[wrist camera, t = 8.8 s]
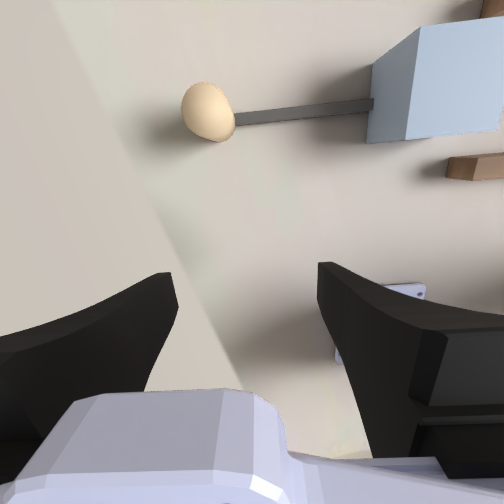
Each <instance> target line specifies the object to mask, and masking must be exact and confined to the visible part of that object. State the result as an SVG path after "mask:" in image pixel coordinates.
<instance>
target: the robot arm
mask: <svg viewBox="0 0 504 504" xmlns="http://www.w3.org/2000/svg"><path fill="white" fill-rule="evenodd" d="M419 292H420V293H419ZM425 292H426V286H425V285H423V284H422V283H415V284H401V285H387V286H381V285H379V284H377V283H374V282H372V281H370V280H368V279H366V278H363V277H361V276H359V275H357V274H355V273H353V272H351V271H350V270H348V269H346V268H344V267H342V266H340V265H338V264H336V263H333V262H319V263H318V282H317V301H318V304H319V308H320V311H321V314H322V317H323V319H324V322H325V324H326V326H327V328H328V330H329V333H330V335H331V337H332V339H333V341H334V343H335V362H336V363H337V364H340V365H341V364H344V366H345V369H346V372H347V375H348V378H349V381H350V384H351V387H352V390H353V393H354V396H355V399H356V403H357V406H358V409H359V412H360V415H361V419H362V422H363V425H364V429H365V432H366V435H367V439H368V442H369V446H370V449H371V452H372V456H373V458H371V459H338V460H337V459H330V458H324V457H319V456H314V455H309V454H303V453H298V452H293V451H287V442H286V433H285V425H284V423H283V421H282V419H281V417H280V414H279V412H278V410H277V408H276V407H275V406H273V405H272V404H270V403H269V402H267V401H265V400H264V399H262V398H260V397H259V396H257V395H256V394H254V393H252V392H247V391H240V390H234V389H227V388H223V389H198V390H174V391H153V392H152V391H151V392H144V389H145V386H146V383H147V381H148V378H149V375H150V373H151V370H152V368H153V366H154V364H155V362H156V360H157V357H158V355H159V353H160V351H161V349H162V347H163V345H164V343H165V341H166V339H167V337H168V335H169V333H170V331H171V328H172V326H173V324H174V321H175V318H176V315H177V311H178V308H179V306H178V302H177V298H176V294H175V289H174V285H173V281H172V277H171V273H170V272H165V273H157V274H154V275H152V276H150V277H148V278H146V279H144V280H142V281H140V282H138V283H136V284H134V285H133V286H131V287H129V288H127V289H125V290H123V291H121V292H119V293H117V294H115V295H113V296H111V297H109V298H107V299H106V300H103V301H101V302H99V303H97V304H95V305H93V306H90V307H88V308H86V309H83V310H81V311H78V312H76V313H73V314H71V315H68V316H65V317H63V318H60V319H57V320H54V321H51V322H48V323H45V324H42V325H40V326H36V327H33V328H29V329H26V330H23V331H19V332H15V333H12V334H9V335H5V336H1V337H0V504H504V315H498V314H491V313H484V312H477V311H472V310H467V309H462V308H457V307H451V306H447V305H443V304H438V303H434V302H430V301H427V300H424V296H425ZM418 293H419V294H418Z"/></svg>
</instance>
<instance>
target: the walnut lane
mask: <svg viewBox="0 0 504 504" xmlns="http://www.w3.org/2000/svg"><path fill="white" fill-rule="evenodd" d="M500 16H504V0H484V2H483V7H482V12H481V16H480V19H484V18H492V17H500ZM446 178H453V179H461V180H470V181H476V180H488V179H499V178H504V152H503V153H493V154H482V155H471V156H460V157H450V160H449V164H448V169H447V174H446Z"/></svg>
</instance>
